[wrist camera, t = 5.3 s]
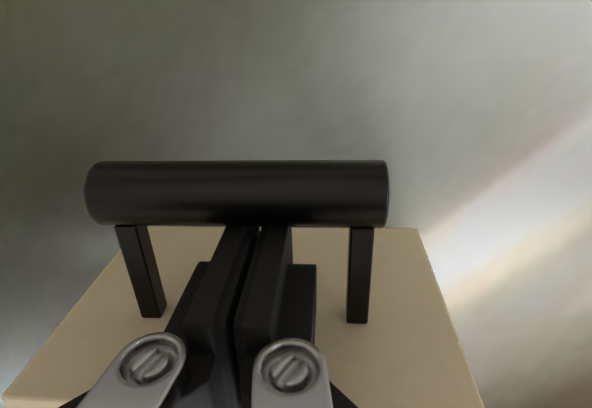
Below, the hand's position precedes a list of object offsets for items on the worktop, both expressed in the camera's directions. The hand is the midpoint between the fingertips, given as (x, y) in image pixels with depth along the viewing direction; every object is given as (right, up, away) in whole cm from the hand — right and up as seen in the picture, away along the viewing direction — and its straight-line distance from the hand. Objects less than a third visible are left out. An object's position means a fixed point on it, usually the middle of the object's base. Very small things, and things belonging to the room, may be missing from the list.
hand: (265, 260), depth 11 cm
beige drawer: (0, -3, +7) cm, 7 cm away
